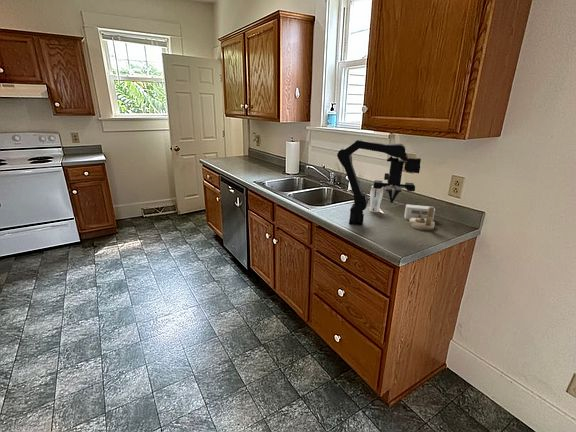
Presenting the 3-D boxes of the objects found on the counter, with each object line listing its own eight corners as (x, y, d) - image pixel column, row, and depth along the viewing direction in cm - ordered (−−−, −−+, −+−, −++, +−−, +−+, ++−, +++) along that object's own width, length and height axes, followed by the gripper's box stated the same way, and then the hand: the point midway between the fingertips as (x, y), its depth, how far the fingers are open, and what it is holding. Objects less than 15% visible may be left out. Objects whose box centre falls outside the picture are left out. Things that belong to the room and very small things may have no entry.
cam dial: (404, 222, 164) (407, 201, 160) (424, 220, 167) (428, 200, 163) (418, 231, 153) (422, 208, 149) (439, 229, 156) (443, 207, 152)
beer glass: (382, 210, 181) (386, 185, 176) (377, 213, 176) (380, 188, 171) (371, 208, 185) (374, 183, 180) (365, 210, 180) (368, 185, 175)
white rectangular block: (405, 220, 168) (407, 207, 165) (404, 216, 173) (406, 204, 171) (433, 222, 165) (435, 210, 163) (431, 218, 170) (433, 206, 168)
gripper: (414, 169, 153) (409, 199, 159) (375, 166, 157) (371, 196, 162) (417, 174, 143) (412, 206, 148) (375, 171, 147) (371, 202, 152)
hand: (391, 202), depth 153 cm, fingers closed
